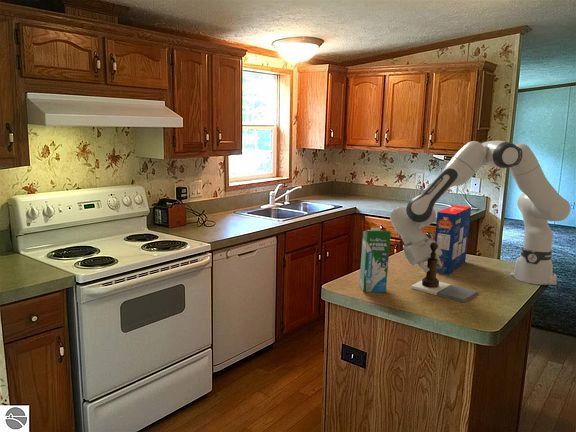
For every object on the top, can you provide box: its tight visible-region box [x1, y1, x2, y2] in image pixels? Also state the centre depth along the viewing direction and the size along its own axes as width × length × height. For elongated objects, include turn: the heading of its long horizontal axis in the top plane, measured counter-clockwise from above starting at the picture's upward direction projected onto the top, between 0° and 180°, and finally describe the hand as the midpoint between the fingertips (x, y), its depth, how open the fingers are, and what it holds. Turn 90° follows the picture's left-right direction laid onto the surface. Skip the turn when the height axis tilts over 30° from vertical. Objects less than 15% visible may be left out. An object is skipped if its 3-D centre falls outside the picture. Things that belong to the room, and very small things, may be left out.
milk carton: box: [359, 227, 392, 293], centre depth 190 cm, size 9×9×25 cm
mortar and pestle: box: [421, 242, 440, 288], centre depth 194 cm, size 7×6×18 cm
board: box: [410, 280, 479, 303], centre depth 193 cm, size 14×22×1 cm, turn 49°
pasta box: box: [434, 204, 472, 276], centre depth 226 cm, size 28×8×28 cm, turn 146°
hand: (434, 269), depth 194 cm, fingers open, 8 cm apart
